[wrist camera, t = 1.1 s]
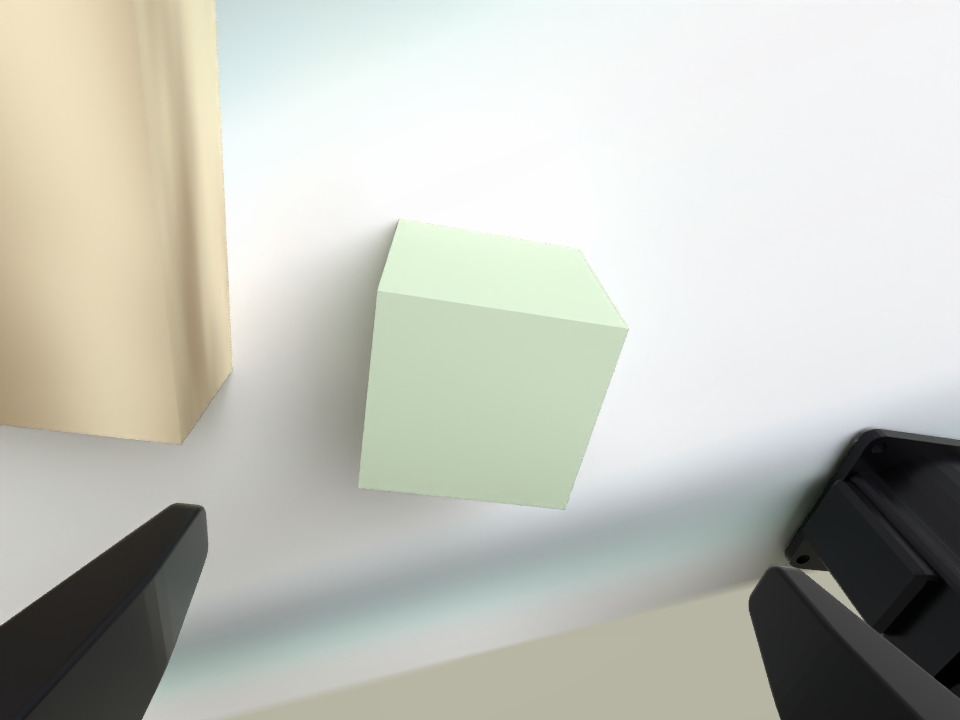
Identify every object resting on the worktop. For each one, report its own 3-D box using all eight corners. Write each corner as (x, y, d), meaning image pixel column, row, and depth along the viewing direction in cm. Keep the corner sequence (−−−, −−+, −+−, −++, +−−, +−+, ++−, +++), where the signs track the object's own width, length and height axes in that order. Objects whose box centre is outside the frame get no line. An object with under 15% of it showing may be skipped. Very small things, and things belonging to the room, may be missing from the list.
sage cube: (578, 248, 15) (628, 329, 11) (537, 396, 18) (564, 509, 13) (399, 217, 15) (376, 290, 10) (381, 375, 17) (357, 487, 13)
